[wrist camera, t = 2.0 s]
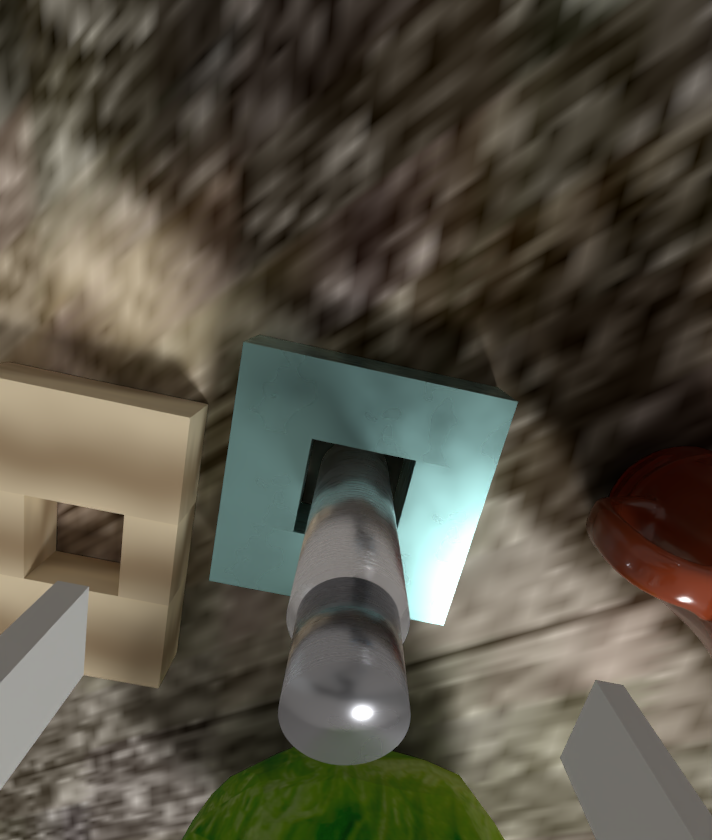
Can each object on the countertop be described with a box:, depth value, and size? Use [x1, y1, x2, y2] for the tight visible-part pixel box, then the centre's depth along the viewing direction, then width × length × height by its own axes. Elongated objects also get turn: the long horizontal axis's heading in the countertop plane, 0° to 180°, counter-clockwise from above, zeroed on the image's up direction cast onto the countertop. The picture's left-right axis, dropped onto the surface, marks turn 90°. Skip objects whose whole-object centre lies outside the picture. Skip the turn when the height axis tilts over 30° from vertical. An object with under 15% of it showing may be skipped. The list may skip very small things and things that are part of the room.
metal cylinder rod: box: [278, 444, 411, 765], centre depth 17 cm, size 4×4×14 cm
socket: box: [209, 335, 518, 625], centre depth 22 cm, size 12×12×3 cm
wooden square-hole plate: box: [0, 362, 208, 688], centre depth 23 cm, size 16×10×2 cm, turn 168°
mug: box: [586, 446, 712, 657], centre depth 19 cm, size 12×9×10 cm
